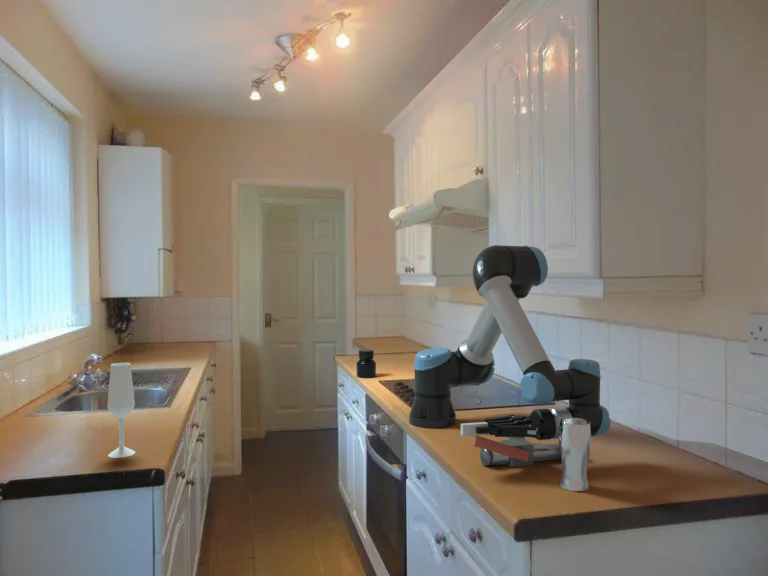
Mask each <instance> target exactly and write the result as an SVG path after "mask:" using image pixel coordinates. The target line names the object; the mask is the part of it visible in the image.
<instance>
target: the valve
mask: <svg viewBox="0 0 768 576" xmlns="http://www.w3.org/2000/svg"><path fill="white" fill-rule="evenodd" d="M500 443H503V444H506V445H509V446H513V447H516V448H519V449H522V448H524V449H526V450H528V451H529V452H530V454H531V457H530V459H529V460H528V461H527V462H522V461H521V460H519V459H516V458H513V457H509V456H506V455H503V454H499V453H496V452H493V451H489V450H486V449H483V448H480V452H479V455H480V456H479V457H480V461H481V464H482V465H483V466H485V467H488V466H498V465H507V466H509V468H512V467H513V468H514V467H515V468H516V467H523V466H525V465H526V466H533V465H534V462H535V463H536V462H544V461H546V462H547V461H556V460H558V461H559V460H561V455H560V449H559V442H558V443H546V444H535V445H534V443H532V442H531V441H528V440H526V438H525V439H513V440H507V439H505V440H503V439H502V440H501V441H500Z"/></svg>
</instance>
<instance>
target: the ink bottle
mask: <svg viewBox="0 0 768 576" xmlns="http://www.w3.org/2000/svg"><path fill="white" fill-rule="evenodd" d="M374 355H375V352H374V349H358V360H357V361H356V377H358V378H360V379H361V378H362V379H363V378H364V379H368V378H370V379H371V378H375V377H376V376H377V362H376V360H374Z"/></svg>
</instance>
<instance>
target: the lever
mask: <svg viewBox="0 0 768 576" xmlns="http://www.w3.org/2000/svg"><path fill="white" fill-rule="evenodd" d="M472 441H473V442H472V446H474V447H477V448H480V449H481V448H483V449H486V450H489V451H493V452H496V453H499V454H503V455H506V456H509V457H513V458H516V459H519V460H521V461H522V462H527V461H528V460H529V459H530V457H531V454H530V452H529V451H528V450H526V449H524V448H522V449H519V448H516V447H513V446H509V445H506V444H503V443H501V441H500V442H499V441H497V440H494V439H493V440H492V439H489V438H487V437H483V436H481V435H475V436H474V439H473V440H472Z"/></svg>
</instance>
